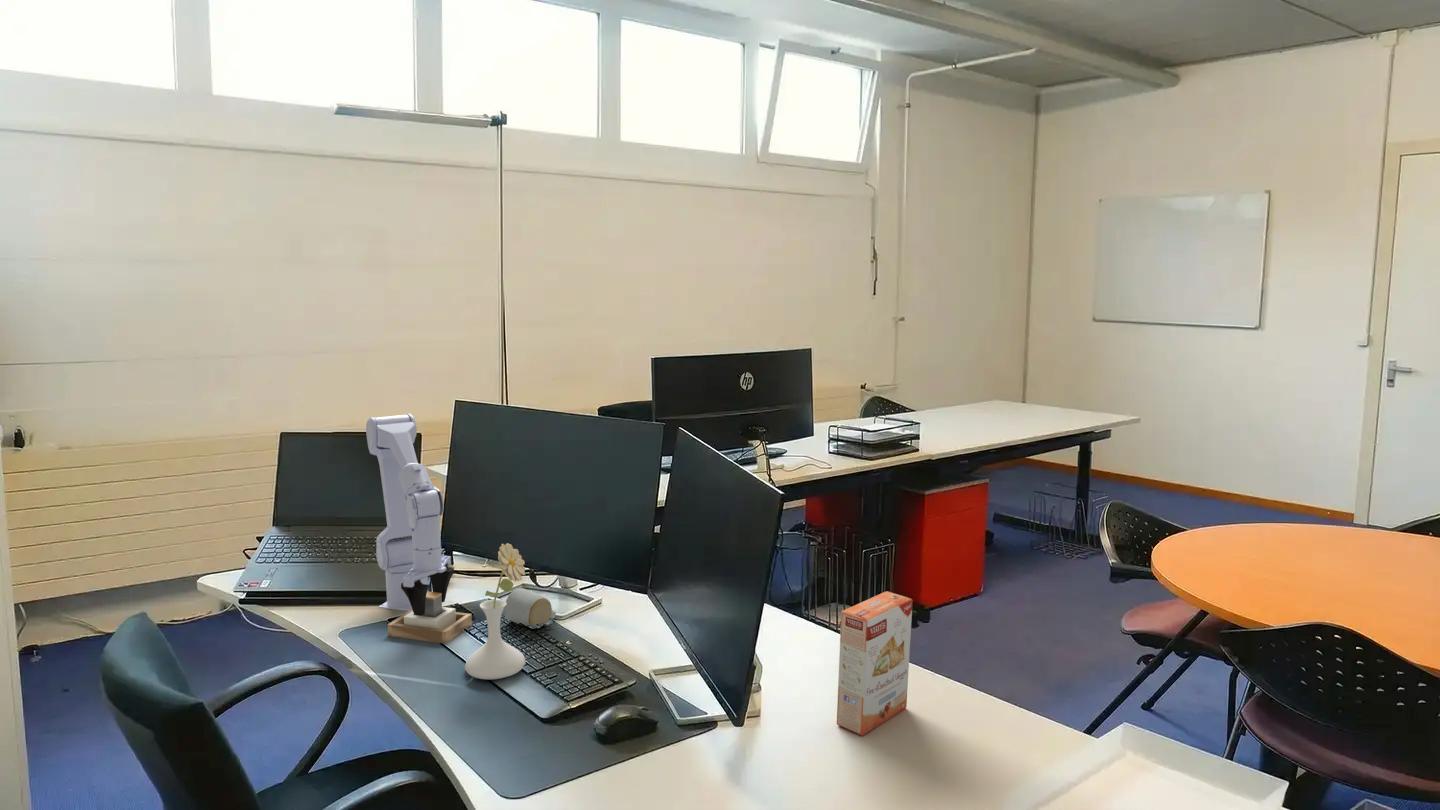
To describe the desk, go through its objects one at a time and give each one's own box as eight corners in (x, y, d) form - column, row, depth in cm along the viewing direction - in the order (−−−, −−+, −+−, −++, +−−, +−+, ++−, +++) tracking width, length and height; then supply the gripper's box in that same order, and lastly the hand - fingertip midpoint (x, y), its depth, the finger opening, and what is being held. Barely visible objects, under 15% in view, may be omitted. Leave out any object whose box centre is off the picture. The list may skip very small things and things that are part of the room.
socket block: (423, 621, 196) (423, 604, 195) (456, 626, 194) (455, 608, 193) (404, 634, 189) (403, 616, 189) (437, 638, 187) (437, 620, 187)
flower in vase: (493, 691, 166) (488, 561, 162) (452, 675, 172) (446, 550, 168) (544, 665, 176) (540, 543, 172) (503, 651, 183) (499, 533, 179)
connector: (426, 622, 193) (424, 591, 192) (442, 624, 192) (441, 593, 191) (418, 627, 190) (416, 596, 189) (434, 629, 189) (433, 598, 188)
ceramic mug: (530, 635, 190) (530, 601, 189) (503, 627, 195) (502, 593, 194) (564, 620, 199) (564, 587, 198) (537, 612, 204) (537, 579, 202)
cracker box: (864, 738, 150) (868, 620, 147) (835, 725, 154) (838, 610, 151) (909, 709, 160) (914, 597, 157) (881, 697, 164) (885, 588, 161)
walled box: (416, 619, 198) (415, 607, 198) (472, 627, 195) (471, 614, 194) (388, 637, 189) (387, 624, 188) (446, 645, 185) (445, 632, 185)
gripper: (423, 559, 181) (426, 623, 183) (462, 538, 194) (464, 597, 197) (392, 555, 183) (396, 619, 185) (433, 535, 196) (436, 594, 199)
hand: (429, 607), depth 191 cm, fingers open, 7 cm apart
